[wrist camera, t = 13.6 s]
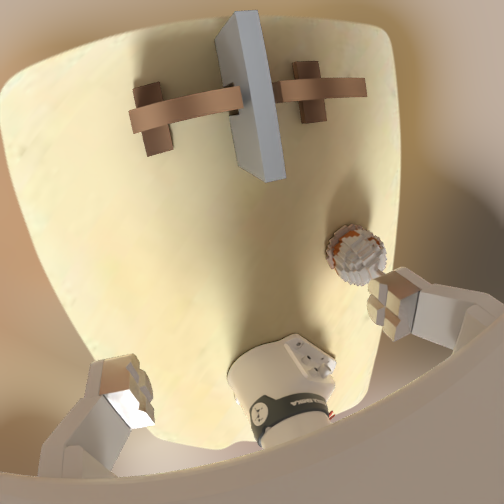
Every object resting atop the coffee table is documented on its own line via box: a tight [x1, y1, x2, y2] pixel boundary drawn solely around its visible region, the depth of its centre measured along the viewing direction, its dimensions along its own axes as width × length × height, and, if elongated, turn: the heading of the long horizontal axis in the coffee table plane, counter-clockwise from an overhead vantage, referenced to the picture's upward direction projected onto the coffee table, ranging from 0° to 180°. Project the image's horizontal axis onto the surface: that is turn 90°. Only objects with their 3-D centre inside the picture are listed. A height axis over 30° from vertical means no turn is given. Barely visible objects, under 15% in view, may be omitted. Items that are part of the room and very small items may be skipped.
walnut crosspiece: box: [129, 61, 367, 157], centre depth 27 cm, size 22×8×10 cm, turn 100°
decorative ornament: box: [326, 224, 387, 286], centre depth 38 cm, size 8×8×15 cm
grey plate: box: [214, 10, 286, 183], centre depth 27 cm, size 16×2×10 cm, turn 10°
